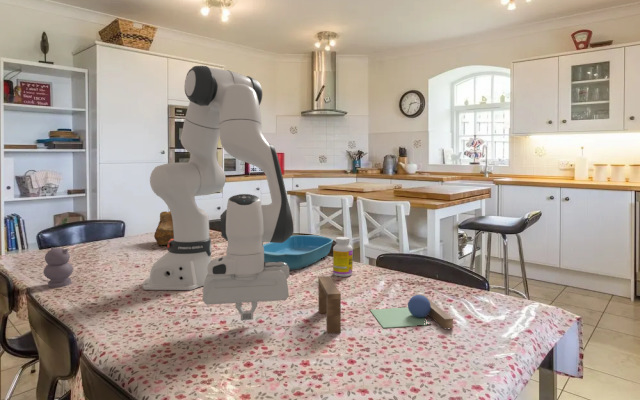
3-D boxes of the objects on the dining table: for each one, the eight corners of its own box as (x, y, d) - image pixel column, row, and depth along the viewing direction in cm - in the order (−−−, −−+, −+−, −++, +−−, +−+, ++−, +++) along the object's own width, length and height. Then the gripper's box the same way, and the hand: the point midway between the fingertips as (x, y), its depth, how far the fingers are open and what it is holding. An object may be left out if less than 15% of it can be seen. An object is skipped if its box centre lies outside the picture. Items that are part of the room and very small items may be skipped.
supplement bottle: (351, 277, 143) (351, 240, 142) (331, 276, 145) (331, 239, 143) (353, 272, 150) (353, 236, 148) (334, 271, 151) (334, 235, 150)
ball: (436, 301, 105) (430, 323, 105) (429, 295, 110) (423, 315, 111) (414, 296, 105) (408, 317, 105) (408, 289, 110) (403, 310, 111)
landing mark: (383, 328, 101) (383, 327, 101) (369, 310, 113) (369, 309, 113) (431, 324, 103) (431, 324, 103) (413, 307, 115) (413, 306, 115)
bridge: (327, 333, 98) (327, 294, 97) (318, 311, 113) (318, 276, 112) (340, 332, 99) (340, 293, 98) (329, 310, 113) (329, 276, 112)
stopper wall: (444, 329, 100) (445, 319, 100) (416, 303, 118) (416, 294, 118) (452, 328, 100) (453, 318, 100) (422, 303, 118) (423, 294, 118)
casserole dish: (298, 275, 147) (298, 255, 147) (245, 268, 157) (245, 249, 157) (340, 253, 180) (340, 237, 180) (295, 248, 190) (294, 233, 189)
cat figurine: (38, 286, 135) (35, 249, 134) (60, 279, 143) (58, 244, 141) (57, 289, 132) (55, 251, 131) (79, 282, 140) (77, 246, 138)
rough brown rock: (142, 246, 200) (139, 215, 197) (171, 237, 213) (169, 208, 211) (174, 254, 187) (171, 221, 184) (203, 244, 201) (201, 213, 198)
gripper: (288, 258, 106) (288, 311, 108) (203, 261, 103) (205, 317, 104) (290, 264, 100) (291, 321, 101) (200, 268, 97) (202, 327, 98)
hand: (247, 319), depth 103 cm, fingers closed
